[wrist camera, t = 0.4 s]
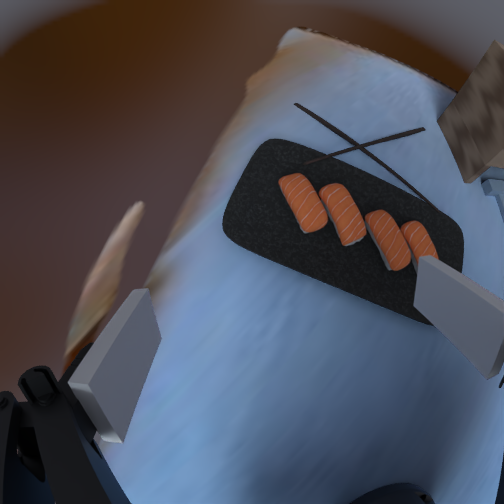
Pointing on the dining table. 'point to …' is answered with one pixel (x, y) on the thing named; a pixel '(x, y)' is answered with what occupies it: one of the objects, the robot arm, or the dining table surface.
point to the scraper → (495, 192)
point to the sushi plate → (340, 221)
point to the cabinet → (478, 117)
